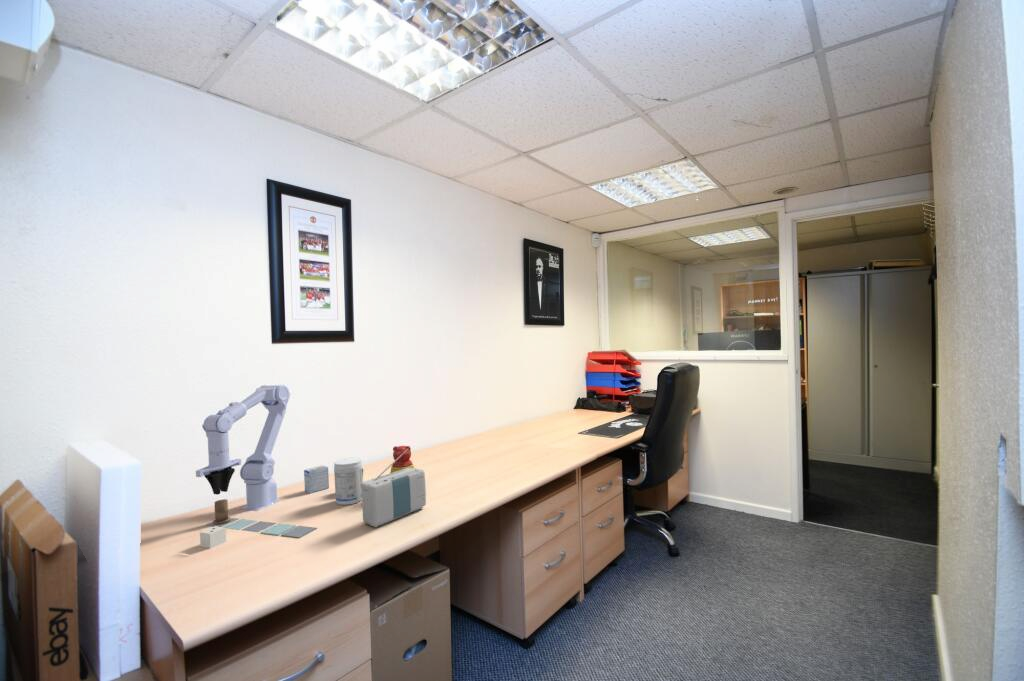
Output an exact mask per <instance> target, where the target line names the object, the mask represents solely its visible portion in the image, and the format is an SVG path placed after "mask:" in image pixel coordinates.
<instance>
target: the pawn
mask: <svg viewBox="0 0 1024 681" xmlns="http://www.w3.org/2000/svg"><path fill="white" fill-rule="evenodd" d="M228 503H229V502H228V499H225V498H224V499H219V500H216V501H214V520H213V521H212V522H213V524H214V525H221V524H225V523H228V522H230V520H231V519H230V518H231V517H230V516H229V504H228Z"/></svg>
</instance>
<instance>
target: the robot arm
mask: <svg viewBox="0 0 1024 681" xmlns="http://www.w3.org/2000/svg"><path fill="white" fill-rule="evenodd" d="M290 396H291V393H290V391H289V388H288V386H287V385H285V384H280V385H279V384H278V385H275V384H274V385H266V384H264V385H261V386H260V387H258V388H256V389H255V391H254V392H253V393H251V394H250V395H249V396H247V397H246V398H245V399H243V400H242V401H240V402H238V401H231V402H230V403H228V406H226V407H225V408H223V409H219V410H218V411H217V413H216V414H210V415H208V416H207V417H206V418H205V419H204V421H203V424H202V426H201V427H202V429H203V431H204V432H205V436H206V437H207V438H206V439H207V449H208V450H207V453H208V465H206V466H204V467H203V468H200V469H197V470H195V477H196V478H202V477H204V478H205V479H206V480H207V481H208V483H209V485H210V488H211V490H212V493H213V495H220V494H221V492H223V493H227V492H229V491H228V490H229V486H230V482H231V479H232V477H233V474H234V473H235V472H236V469H235V468H234V467H237V466H241V465H242V458H236V459H230V447H229V446H230V444H229V431H230V430H231V429H232V428H233V425H234V424H235V423H236V422H237V421H240V420H241V419H242V418H244V417H245V416H246V415H247V412H248V410H250V409H251V408H254V407H255V406H257V405H258V404H260V403H261V404H262V406H264V408H265V409H266V410H267V411H268V413H267V417H266V419H265V422H264V425H263V428H262V430H261V433H260V436H259V440H258V442H257V444H256V447H255V450H254V453H252V454H251V455H249V456H248V457H247V458H246V460H245V462H244V463H243V465H242V466H241V467H240V470H239V476H240V478H241V479H242V480H243V481H244V482H243V483H244V484H245V491H246V492H245V494H246V505H244V506H242V507H240V510H248V511H255V512H256V511H257V512H258V511H261V510H262V509H265V508H267V507H270V506H272V505H274V504H277V503H279V502H280V500H278V490H277V489H278V488H277V482H276V481H275V479H274V478H273V475H274V473H275V472H274V471H275V470H274V468H275V463H276V461H275V460H274V459H273V458H272V452H273V449H274V447H275V444H276V441H277V438H278V435H279V432H280V429H281V426H282V424H283V420H284V418H285V415H286V411H287V406H288V402H289V399H290Z"/></svg>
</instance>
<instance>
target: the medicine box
mask: <svg viewBox="0 0 1024 681" xmlns="http://www.w3.org/2000/svg"><path fill="white" fill-rule="evenodd" d="M303 478H304V480H303V483H304V492H305V493H307V494H313V493H316V492H319V491H324V490H325V489H326V490H327V489H329V488H330V483H329V482H330V478H329V467H328V466H326V465H323V464H322V465H318V466H314V467H310V468H307V469H304V470H303Z"/></svg>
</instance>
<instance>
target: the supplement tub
mask: <svg viewBox="0 0 1024 681" xmlns="http://www.w3.org/2000/svg"><path fill="white" fill-rule="evenodd" d="M362 462H363V461H362V459H361V458H360V457H355V456H354V457H346V458H341V459H337V460H336V461H334V463H333V472H334V473H333V474H334V490H335V491H334V492H335V493H334V494H335V503H336V504H337V505H340V506H341V505H342V506H348V505H354V504H357V503H360V502H362V489H361V482H364V481H363V480H364V479H363V478H364V476H363V477H362V469H363V463H362Z"/></svg>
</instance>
